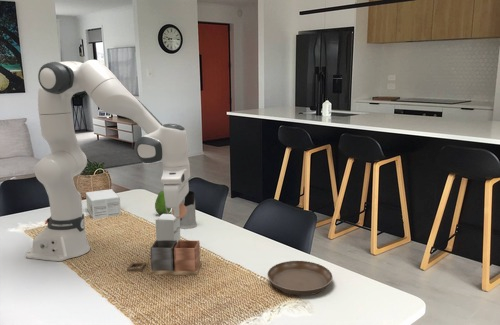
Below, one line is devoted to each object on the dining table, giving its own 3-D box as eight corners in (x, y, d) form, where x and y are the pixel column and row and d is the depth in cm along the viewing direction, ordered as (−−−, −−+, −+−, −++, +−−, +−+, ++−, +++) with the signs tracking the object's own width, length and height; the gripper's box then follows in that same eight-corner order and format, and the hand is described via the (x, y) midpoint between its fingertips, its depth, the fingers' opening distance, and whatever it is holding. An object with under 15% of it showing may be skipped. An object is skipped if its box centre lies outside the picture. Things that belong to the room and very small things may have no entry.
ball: (170, 220, 147) (169, 206, 146) (174, 215, 151) (173, 201, 150) (185, 220, 146) (184, 205, 145) (188, 215, 151) (187, 201, 150)
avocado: (170, 217, 209) (169, 192, 206) (153, 217, 209) (152, 192, 206) (173, 212, 216) (172, 188, 214) (157, 212, 217) (156, 188, 214)
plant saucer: (316, 306, 128) (316, 295, 127) (255, 288, 139) (255, 278, 138) (341, 278, 145) (342, 269, 145) (285, 264, 156) (286, 256, 155)
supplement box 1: (86, 210, 221) (85, 192, 220) (113, 206, 228) (112, 188, 226) (92, 219, 207) (91, 200, 205) (121, 215, 213) (119, 196, 211)
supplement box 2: (174, 252, 168) (173, 220, 165) (156, 250, 169) (154, 219, 167) (181, 244, 175) (180, 214, 172) (163, 243, 176) (162, 213, 174)
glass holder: (200, 226, 196) (199, 193, 193) (170, 232, 188) (169, 199, 185) (191, 221, 203) (190, 189, 200) (162, 227, 195) (160, 194, 192)
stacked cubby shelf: (150, 274, 149) (148, 249, 147) (157, 263, 158) (155, 239, 156) (197, 274, 148) (196, 249, 146) (201, 263, 157) (200, 239, 155)
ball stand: (126, 271, 151) (126, 268, 151) (131, 265, 156) (131, 262, 156) (141, 271, 151) (141, 268, 151) (146, 265, 156) (145, 262, 156)
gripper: (174, 166, 156) (176, 204, 159) (159, 180, 136) (162, 223, 139) (191, 166, 156) (194, 204, 159) (179, 179, 136) (182, 222, 139)
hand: (179, 213), depth 149 cm, fingers closed on ball, 5 cm apart
